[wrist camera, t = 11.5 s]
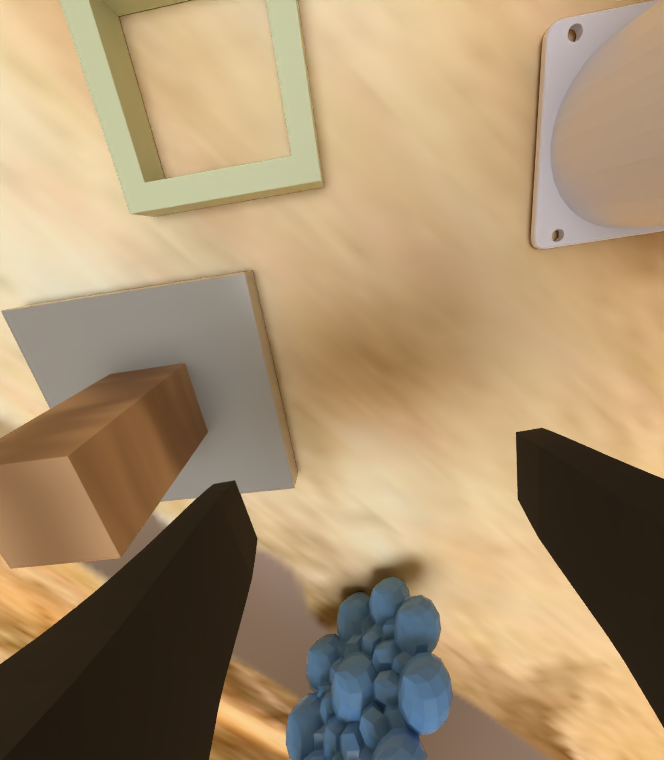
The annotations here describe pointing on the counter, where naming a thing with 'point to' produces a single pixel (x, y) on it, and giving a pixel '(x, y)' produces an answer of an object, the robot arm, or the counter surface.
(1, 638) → the counter surface
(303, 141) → the pocket holder
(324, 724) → the grapes
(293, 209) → the counter surface
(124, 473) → the walnut block
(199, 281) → the grey metal plate
